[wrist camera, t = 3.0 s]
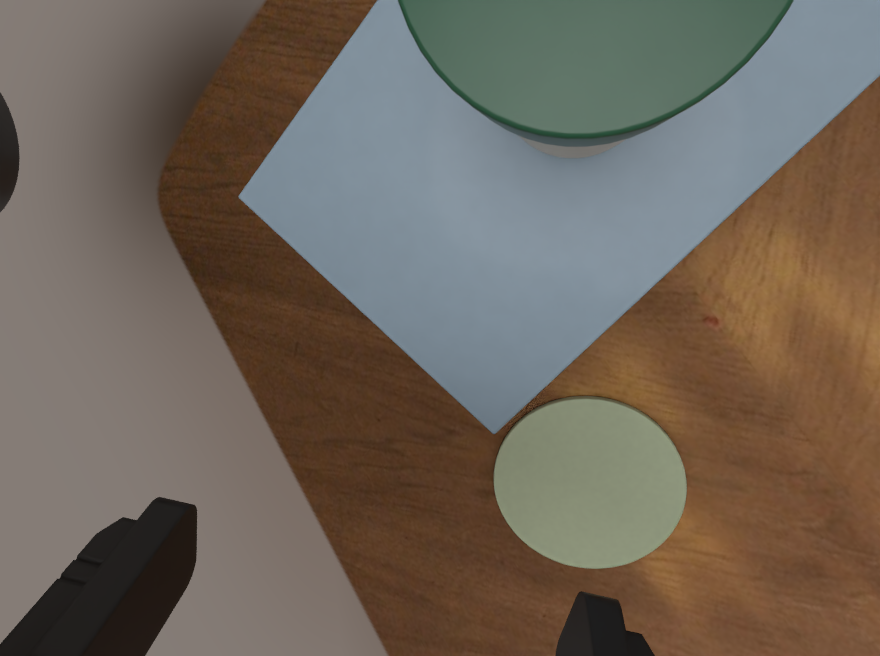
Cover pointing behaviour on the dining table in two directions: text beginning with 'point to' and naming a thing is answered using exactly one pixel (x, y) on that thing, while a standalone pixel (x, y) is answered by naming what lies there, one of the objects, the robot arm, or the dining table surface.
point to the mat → (590, 482)
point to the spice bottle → (587, 61)
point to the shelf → (530, 197)
